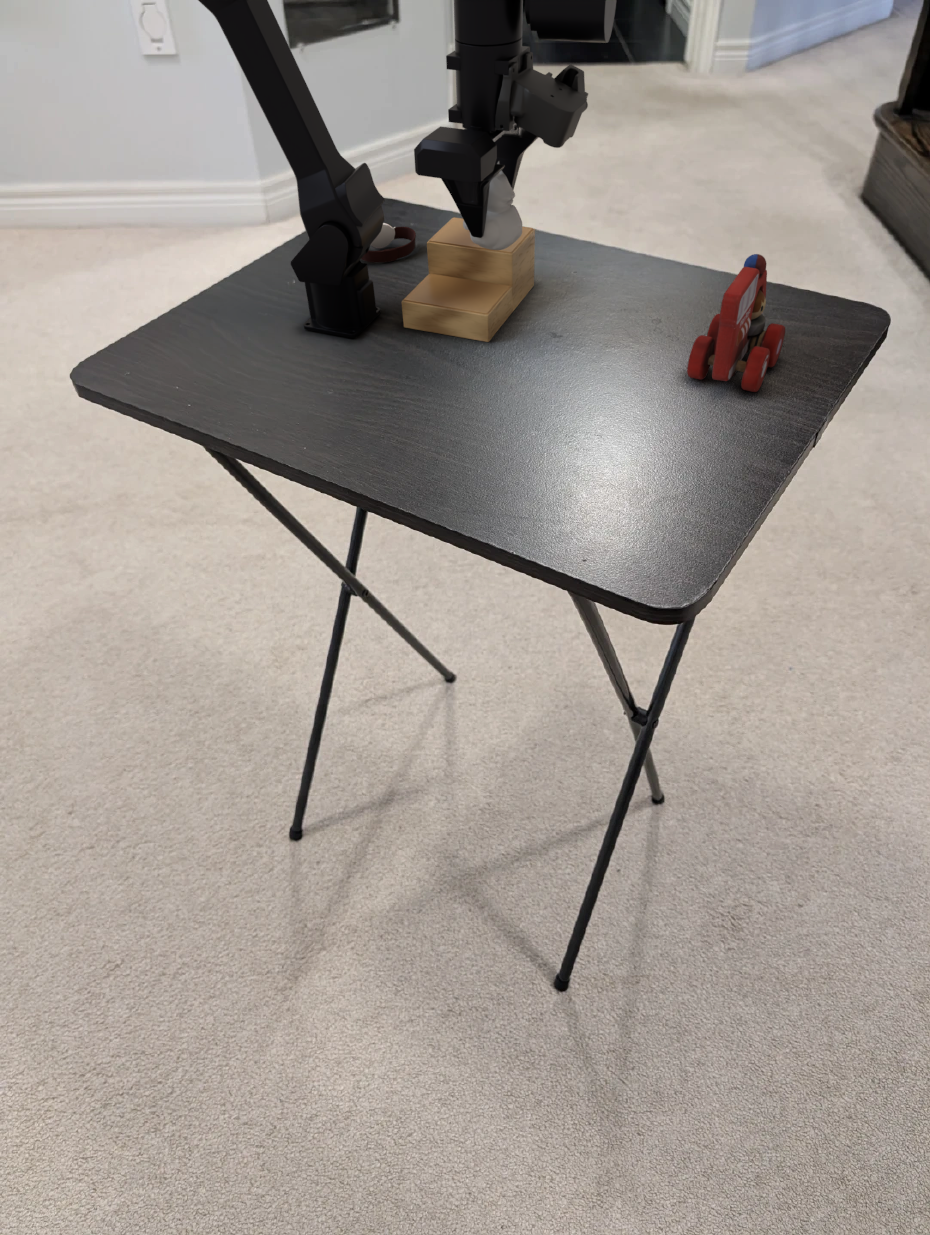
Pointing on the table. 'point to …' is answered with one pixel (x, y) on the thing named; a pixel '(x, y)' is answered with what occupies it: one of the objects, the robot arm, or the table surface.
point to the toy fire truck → (740, 332)
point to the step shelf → (470, 284)
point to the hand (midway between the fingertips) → (489, 225)
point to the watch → (385, 239)
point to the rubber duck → (500, 216)
